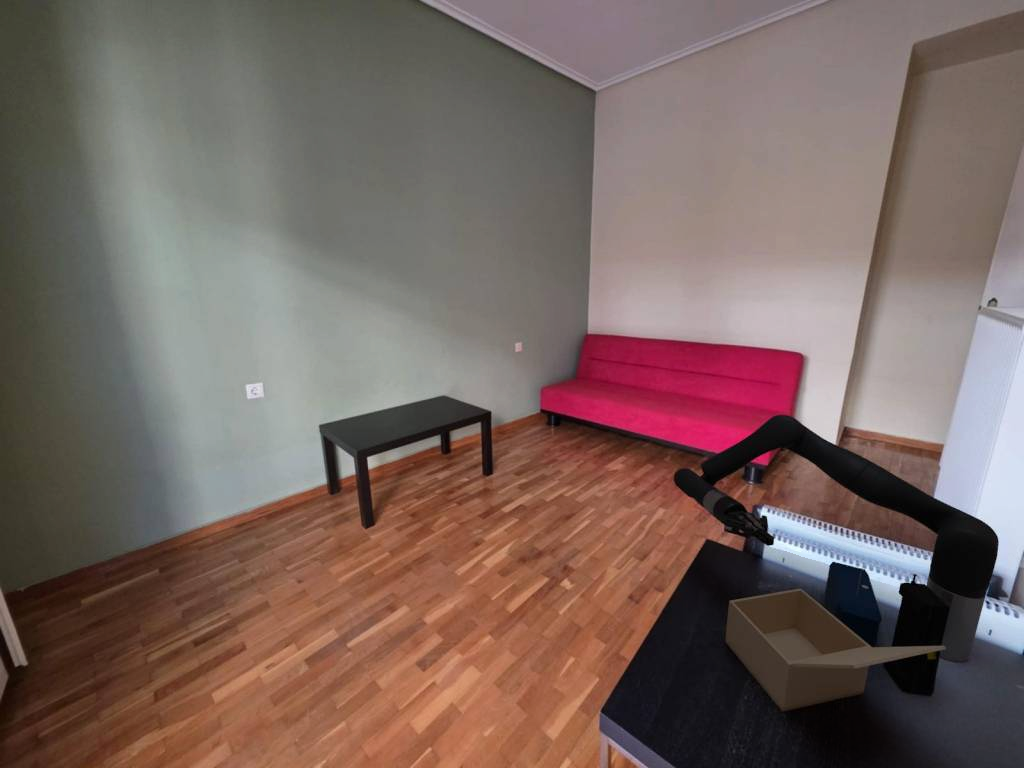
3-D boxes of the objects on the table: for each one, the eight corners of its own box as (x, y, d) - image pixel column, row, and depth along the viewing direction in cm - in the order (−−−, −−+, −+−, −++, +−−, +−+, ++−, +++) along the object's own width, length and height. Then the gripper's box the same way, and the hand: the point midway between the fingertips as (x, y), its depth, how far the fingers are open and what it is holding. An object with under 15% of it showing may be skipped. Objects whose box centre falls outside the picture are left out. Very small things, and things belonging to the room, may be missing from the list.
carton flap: (853, 664, 71) (855, 669, 70) (944, 645, 74) (946, 649, 74) (791, 663, 84) (793, 667, 84) (870, 647, 87) (872, 650, 87)
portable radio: (939, 702, 88) (964, 601, 82) (905, 697, 89) (928, 597, 83) (912, 669, 95) (934, 574, 89) (881, 665, 96) (901, 571, 91)
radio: (878, 663, 97) (893, 589, 92) (831, 647, 102) (843, 576, 97) (862, 604, 114) (875, 540, 110) (823, 593, 119) (833, 531, 114)
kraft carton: (725, 641, 104) (729, 600, 101) (794, 628, 107) (800, 588, 105) (782, 711, 87) (789, 664, 84) (863, 693, 90) (872, 647, 87)
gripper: (703, 498, 116) (748, 532, 100) (745, 492, 118) (796, 524, 102) (702, 523, 118) (746, 560, 101) (743, 516, 120) (793, 551, 103)
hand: (771, 542), depth 102 cm, fingers closed
